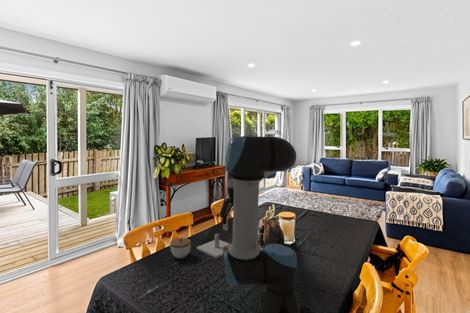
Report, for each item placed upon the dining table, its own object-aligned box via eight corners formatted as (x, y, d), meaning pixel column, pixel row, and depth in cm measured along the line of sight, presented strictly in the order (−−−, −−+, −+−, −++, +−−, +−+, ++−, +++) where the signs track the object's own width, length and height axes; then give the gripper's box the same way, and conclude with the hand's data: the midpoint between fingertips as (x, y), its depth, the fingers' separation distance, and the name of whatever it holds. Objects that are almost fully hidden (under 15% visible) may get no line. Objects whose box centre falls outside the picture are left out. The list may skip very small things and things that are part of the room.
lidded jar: (166, 257, 138) (165, 240, 137) (179, 249, 148) (179, 233, 147) (182, 262, 133) (182, 244, 132) (194, 253, 143) (194, 237, 142)
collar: (234, 262, 133) (234, 251, 133) (223, 257, 139) (223, 246, 138) (244, 257, 139) (244, 246, 139) (233, 252, 144) (233, 242, 144)
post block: (216, 258, 138) (216, 243, 137) (196, 249, 148) (196, 235, 148) (236, 248, 149) (237, 234, 149) (217, 240, 160) (217, 227, 160)
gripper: (222, 191, 124) (222, 235, 126) (255, 184, 142) (255, 222, 144) (212, 188, 129) (212, 230, 131) (245, 182, 147) (244, 219, 149)
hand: (234, 226), depth 137 cm, fingers open, 13 cm apart
